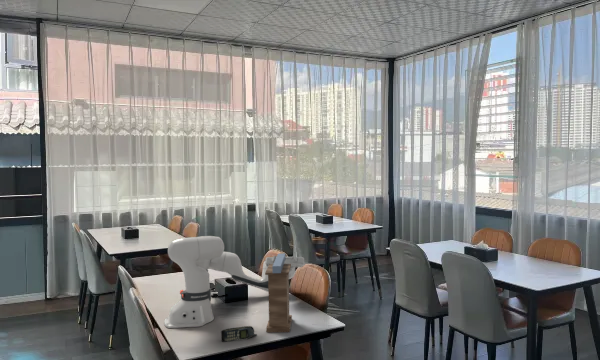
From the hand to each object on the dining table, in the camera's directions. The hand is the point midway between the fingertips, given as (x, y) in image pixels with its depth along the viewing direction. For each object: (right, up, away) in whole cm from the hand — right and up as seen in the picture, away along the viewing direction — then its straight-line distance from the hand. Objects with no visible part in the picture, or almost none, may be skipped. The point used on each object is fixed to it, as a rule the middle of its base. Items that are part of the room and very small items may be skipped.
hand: (284, 257), depth 231 cm
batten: (-1, 0, -25) cm, 25 cm away
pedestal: (-1, -26, -28) cm, 38 cm away
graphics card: (-42, -25, +27) cm, 56 cm away
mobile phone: (-17, -27, -43) cm, 53 cm away
